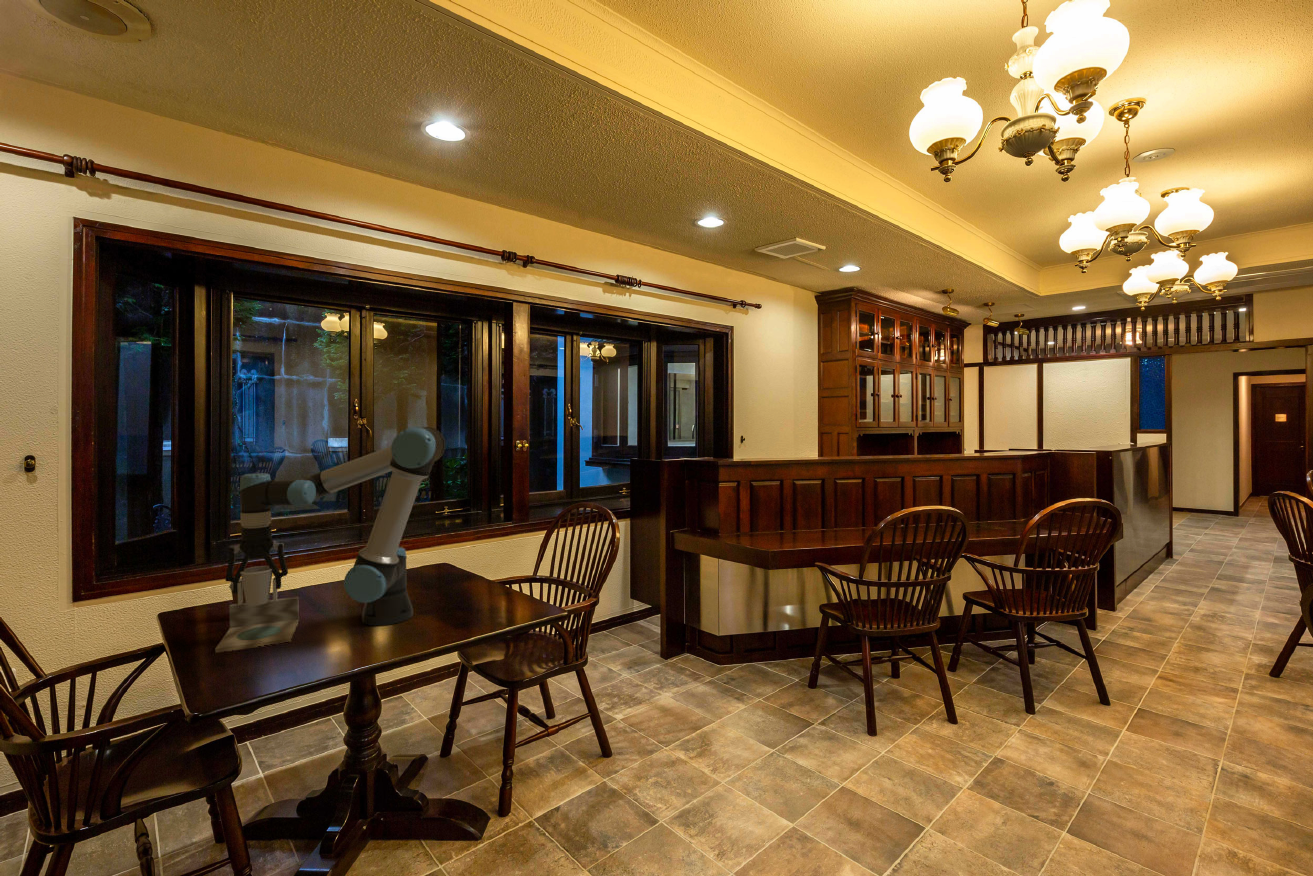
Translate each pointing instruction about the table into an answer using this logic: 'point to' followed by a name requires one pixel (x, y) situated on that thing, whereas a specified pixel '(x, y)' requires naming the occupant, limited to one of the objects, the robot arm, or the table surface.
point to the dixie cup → (257, 584)
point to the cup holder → (260, 624)
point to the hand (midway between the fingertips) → (258, 601)
